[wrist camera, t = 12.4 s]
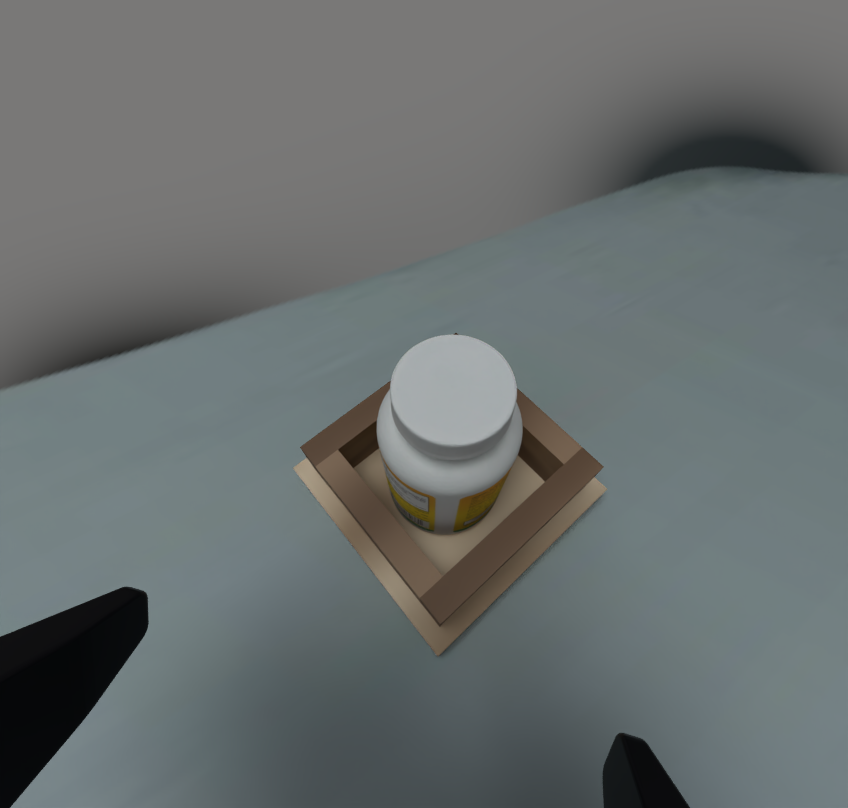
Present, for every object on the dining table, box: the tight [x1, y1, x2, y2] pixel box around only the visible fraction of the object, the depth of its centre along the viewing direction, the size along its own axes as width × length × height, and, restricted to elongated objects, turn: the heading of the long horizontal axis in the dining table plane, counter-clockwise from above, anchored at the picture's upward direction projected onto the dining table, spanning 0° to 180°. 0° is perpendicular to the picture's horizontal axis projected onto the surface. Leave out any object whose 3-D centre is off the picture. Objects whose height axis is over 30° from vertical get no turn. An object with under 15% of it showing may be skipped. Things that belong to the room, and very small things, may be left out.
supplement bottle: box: [377, 335, 523, 535], centre depth 19 cm, size 5×5×10 cm
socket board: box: [293, 333, 607, 656], centre depth 22 cm, size 11×11×4 cm
